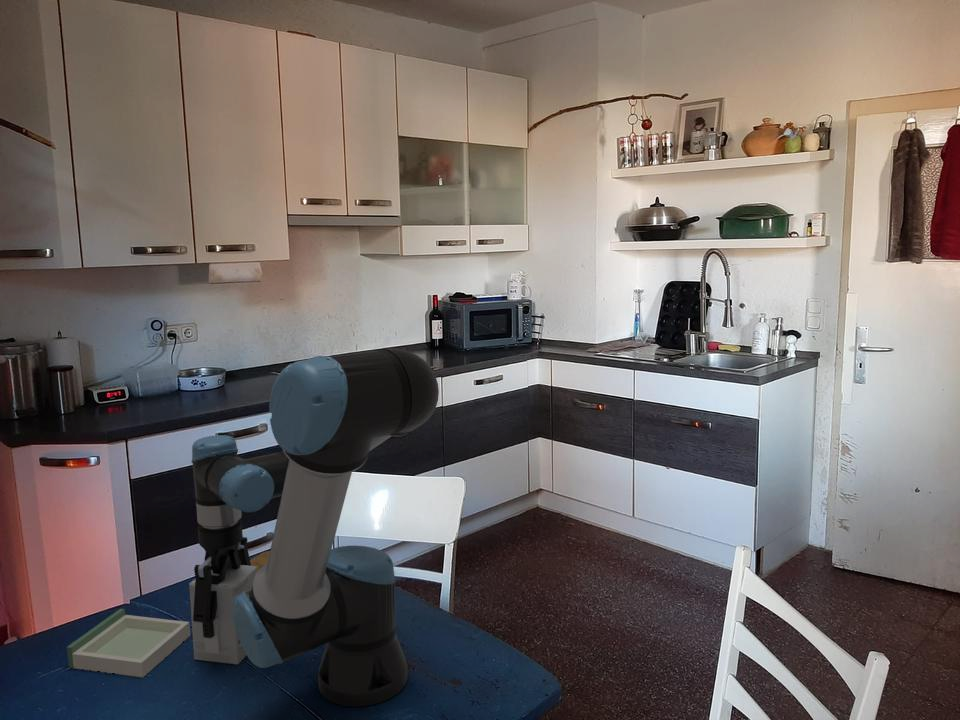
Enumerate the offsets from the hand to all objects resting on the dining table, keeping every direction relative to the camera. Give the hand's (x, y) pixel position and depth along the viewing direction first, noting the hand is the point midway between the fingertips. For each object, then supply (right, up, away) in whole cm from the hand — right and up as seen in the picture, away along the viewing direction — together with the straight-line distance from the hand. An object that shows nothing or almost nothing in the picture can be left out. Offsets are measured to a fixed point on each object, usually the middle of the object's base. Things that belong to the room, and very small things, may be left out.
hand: (228, 637), depth 137 cm
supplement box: (0, -3, 0) cm, 3 cm away
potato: (0, +1, +23) cm, 23 cm away
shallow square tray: (-17, -3, 0) cm, 18 cm away
